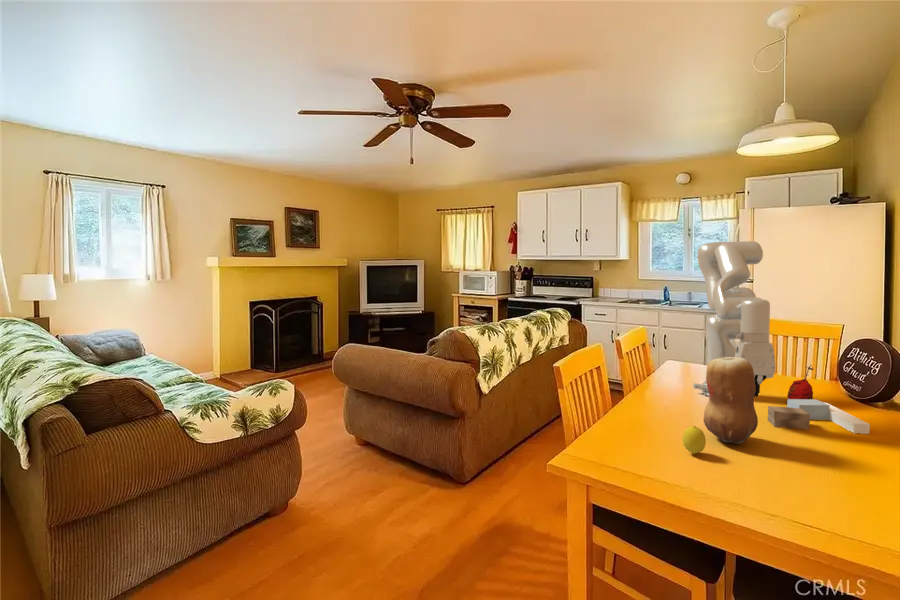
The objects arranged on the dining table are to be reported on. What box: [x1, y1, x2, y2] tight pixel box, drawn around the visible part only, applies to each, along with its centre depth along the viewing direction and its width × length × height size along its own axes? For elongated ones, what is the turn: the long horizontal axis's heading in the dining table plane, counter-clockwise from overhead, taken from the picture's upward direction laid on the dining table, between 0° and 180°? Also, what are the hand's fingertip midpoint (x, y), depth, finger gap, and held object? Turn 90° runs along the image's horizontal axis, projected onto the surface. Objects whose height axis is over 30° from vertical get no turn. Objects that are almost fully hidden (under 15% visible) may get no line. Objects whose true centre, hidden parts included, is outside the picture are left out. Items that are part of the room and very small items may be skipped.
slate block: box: [786, 398, 831, 421], centre depth 146 cm, size 9×6×5 cm, turn 83°
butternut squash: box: [702, 357, 759, 445], centre depth 127 cm, size 14×13×25 cm
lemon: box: [682, 425, 707, 455], centre depth 120 cm, size 6×6×8 cm
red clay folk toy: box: [786, 364, 814, 399], centre depth 157 cm, size 8×7×15 cm
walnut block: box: [767, 405, 810, 431], centre depth 139 cm, size 9×6×5 cm, turn 70°
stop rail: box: [822, 401, 871, 435], centre depth 141 cm, size 4×20×3 cm, turn 169°
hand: (753, 395), depth 139 cm, fingers closed
